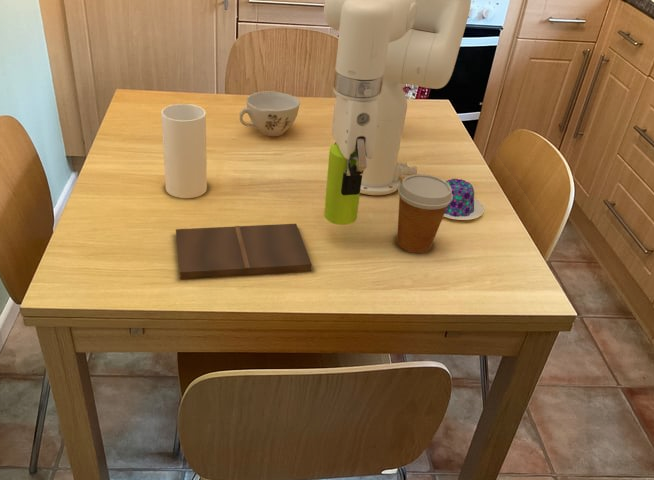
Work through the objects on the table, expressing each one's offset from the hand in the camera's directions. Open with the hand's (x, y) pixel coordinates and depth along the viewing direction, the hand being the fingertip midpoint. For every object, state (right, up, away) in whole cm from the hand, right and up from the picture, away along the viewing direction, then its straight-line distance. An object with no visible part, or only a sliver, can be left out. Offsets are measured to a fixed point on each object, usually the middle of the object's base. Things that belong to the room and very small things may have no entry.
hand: (345, 183), depth 109 cm
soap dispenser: (0, -5, +5) cm, 7 cm away
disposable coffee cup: (+13, -10, +7) cm, 18 cm away
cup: (-31, +2, +17) cm, 35 cm away
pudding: (+24, -2, +18) cm, 30 cm away
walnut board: (-18, -12, 0) cm, 22 cm away
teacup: (-15, +19, +41) cm, 48 cm away
